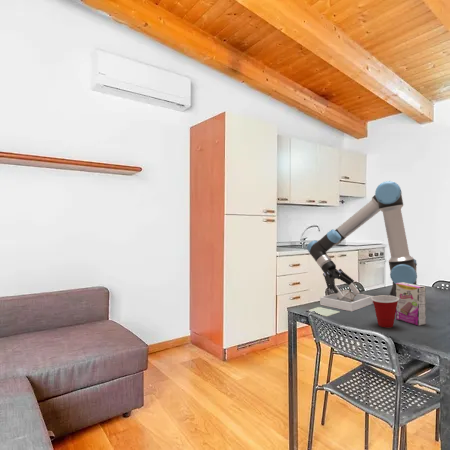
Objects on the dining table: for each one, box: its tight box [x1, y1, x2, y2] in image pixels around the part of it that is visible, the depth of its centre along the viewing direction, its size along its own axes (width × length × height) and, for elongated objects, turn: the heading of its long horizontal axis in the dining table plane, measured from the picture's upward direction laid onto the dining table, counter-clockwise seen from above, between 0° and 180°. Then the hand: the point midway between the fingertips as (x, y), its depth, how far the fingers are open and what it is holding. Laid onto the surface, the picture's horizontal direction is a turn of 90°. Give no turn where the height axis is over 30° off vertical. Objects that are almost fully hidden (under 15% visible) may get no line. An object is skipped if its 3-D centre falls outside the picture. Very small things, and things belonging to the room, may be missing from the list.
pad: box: [308, 306, 341, 317], centre depth 168 cm, size 12×11×1 cm
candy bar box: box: [395, 282, 427, 327], centre depth 150 cm, size 11×5×16 cm, turn 26°
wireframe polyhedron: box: [338, 288, 356, 303], centre depth 182 cm, size 9×8×10 cm
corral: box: [319, 292, 374, 312], centre depth 182 cm, size 18×22×4 cm
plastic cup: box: [371, 294, 399, 329], centre depth 146 cm, size 11×11×12 cm
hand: (350, 296), depth 181 cm, fingers open, 13 cm apart
